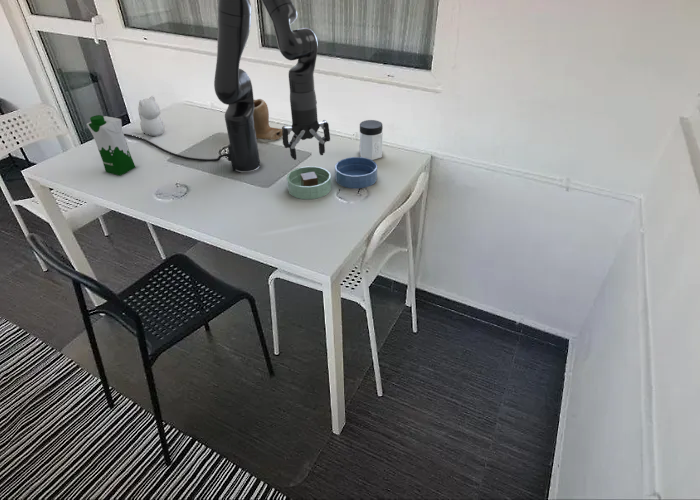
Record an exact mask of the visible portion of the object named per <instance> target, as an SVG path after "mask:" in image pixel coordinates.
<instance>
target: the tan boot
mask: <svg viewBox="0 0 700 500" xmlns="http://www.w3.org/2000/svg"><path fill="white" fill-rule="evenodd" d="M253 119H254V125H255V132H256V139H257V140H263V141H276V140H279V139H281V138H283V136H282V128H277V127H271V125H270V121H269V120H270V113H269V107H268V104H267V103H266V101H264V100H263V99H261V98H257V99H254V113H253Z"/></svg>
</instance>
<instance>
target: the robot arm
mask: <svg viewBox="0 0 700 500" xmlns="http://www.w3.org/2000/svg"><path fill="white" fill-rule="evenodd" d="M261 2H262V4H263V6H264V7H265V9H266V12H267V13H268V16H269V17H270V20H271V21H272V25H273V30H274V33H275V38H276V42H277V48H278V50H279V52H280V54H281V55H282V57H284V58H285V59H286V60H288V61H296V60H297V62H296V63H295V65H293V67H291V68H290V69H289V70H288V86H289V103H290V114H291V122H292V124H291V126H285V125H283V126H281V129H282V144H283V146H284V148H286V149H289V153H290V157H291V158H292V159H293V160H294V161H297V151H296V148H295V147H296V146H297V145H298V144H299V142H300V141H301V140H302V141H304V140H310V139H311V140H312V139H313V138H315V139H316V140H317V141H318V153H319V155H320V156H323V155H324V154H325V152H326V147H325V146H326V145H325V144H326V143H327V142H330V141H331V134H330V125H329V123H328V121H327V120H326V119H323V120H322V121H320V122H319V121H318V106H317V105H318V104H317V103H318V102H317V95H316V89H315V76H314V73H315V69H316V62H317V56H318V50H319V45H318V44H319V43H318V38H317V36H316V34H315V33H314V31H313V30H312V29H311V28H309V27H302V28H298V29H294V30H292V28H291V25H292V24H293V23H294V22H295V21H296V20H297V18H298V11H297V8H296V7H295V5H294V3H293V0H261ZM251 23H252V3H251V0H217V43H216V44H217V46H216V50H217V51H216V63H215V73H214V79H213V81H214V82H213V88H214V93H215V96H216V97H217V99H218V100H219V102H220V103H222V104H223V105H227V108H226V110H225V112H224V120H225V127H226V131H227V137H228V145H227V149H228V151H227V153H222V154H220V155H219V156H217V158H211V159H210V158H198V157H189V156H185V155H181V154H177V153H175V152H171V151H169V150H167V149H164V148H162V147H161V146H159V145H157V144H155V143H153V142H151V141H150V140H148V139H145V138H143V137H140V136H137V135H134V134H128V133H124V137H129V138H134V139H137V140H140V141H143V142H145V143H147V144H150V146H153V147H155V148H157V149H158V150H160V151H162V152H163V153H166V154H169V155H170V156H172V157H173V156H174V157H177V158H180V159H182V160H183V159H184V160H188V161H189V160H190V161H195V162H196V161H197V162H218V161H220V160H221V158H225V157H227V161H229V162H230V163H231V168H232V171H233V172H237V173H239V174H241V173H252V172H254V171H257V170H258V169H260V168H261V167H262V164H261V160H260V154H259V147H258V139H256V132H255V125H254V119H253V113H254V100H255V98H254V90H253V84H252V80H251V78H250V75H248V73H247V72H246V71H245V70H244V69H242V68H240V62H241V58H242V55H243V52H244V50H245V48H246V44H247V41H248V39H249V37H250V36H249V35H250V33H251V32H250V31H251ZM320 128H321V129H322V130H323V136H321V135H320V134H319V133H318V131H319V129H320ZM291 132H292V133H293V135H292V137H291V138H290V139H291V140H290V141H289V136H290V135H291ZM132 135H133V136H132ZM136 136H137V137H136ZM139 137H140V138H139ZM142 138H143V139H142Z"/></svg>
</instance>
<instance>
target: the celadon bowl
mask: <svg viewBox="0 0 700 500" xmlns="http://www.w3.org/2000/svg"><path fill="white" fill-rule="evenodd" d="M308 172H314V173H315V174H316V176H317V178H318V185H316V186H301V177H300V174H302V173H308ZM286 185H287V191H288V194H289V195H291V196H292V197H293V198H296V199H301V200H314V199H315V200H316V199H320V198H323V197H325V196H326V195H329V193H330V192H331V191H332V174H331V172H330V170H328V169H327V168H323V167H321V166H315V165H314V166H313V165H312V166H308V165H307V166H302V167H297V168H295V169H293V170H291V171H289V173H288V174H287V175H286Z"/></svg>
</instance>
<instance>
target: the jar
mask: <svg viewBox="0 0 700 500" xmlns="http://www.w3.org/2000/svg"><path fill="white" fill-rule="evenodd" d="M383 126H384V125H383V123H382V122H381V121H380V120H376V119H367V120H363V121H361V122H359V157H362V158H367V159H370V160H372V161H374V160H377V159H381V158H382V157H383V136H384V135H383Z"/></svg>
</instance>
